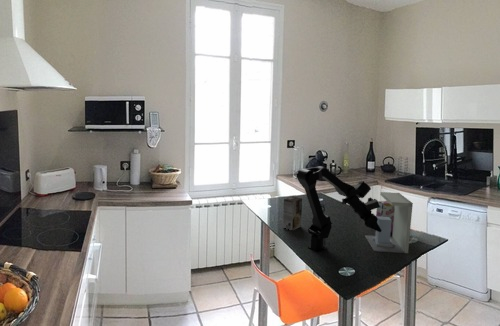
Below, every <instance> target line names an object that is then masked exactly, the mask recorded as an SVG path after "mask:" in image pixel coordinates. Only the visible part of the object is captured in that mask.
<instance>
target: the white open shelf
mask: <svg viewBox="0 0 500 326" xmlns="http://www.w3.org/2000/svg"><path fill="white" fill-rule="evenodd" d="M380 196H381V197H382V198H383V199H384V201H387V202H389V203H390V204H391V205H393V206H395V211H394V222H393V232H392V236H390V244H379V243H376V242H375V236H376V235H366V234H365V235H364V237H365V239H366V240H367V242H368V243H369V245H370V246H371V248H372V251H374V252H378V253H379V252H380V253H381V252H382V253H400V254H409V247H410V236H411V228H412V227H411V226H412V225H411V224H412V217H413V216H412V215H413V214H412V213H413V204H414V203H413V202H412V201H411V200H409V199H408V198H406V197H405V196H404V195H403V194H401V193H400V192H391V191H389V192H388V191H387V192H386V191H381V192H380Z"/></svg>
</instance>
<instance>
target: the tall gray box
mask: <svg viewBox="0 0 500 326" xmlns="http://www.w3.org/2000/svg"><path fill="white" fill-rule="evenodd" d="M377 218H378V220H377V224H378V225H379V227H380V229H381V230H382V231H381V232H378V231H375V235H374V236H375V242H376V243H379V244H390V237H391V233H392V232H391V222H392V220H391V219H390V218H389V217H379V216H377Z"/></svg>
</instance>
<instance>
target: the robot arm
mask: <svg viewBox="0 0 500 326" xmlns="http://www.w3.org/2000/svg"><path fill="white" fill-rule="evenodd" d="M321 178H322V179H323V180H325V181H326V182H327V183H328V184H330V185H331V186H332V187H333V188H334V189H335V191H336V192H337V194H338V195H340V196H342V197H345V198H342V199H341V204H342V205H348V206H349V208H350V209H352V210H353V211H354V213H356V214H357V216H358V217H359V218H360V219H361V220H362V222H363V225H364V226H366V228H369V229H372V230H374V231H375V230H376V231H378V232H381V231H382V230H381V229H380V227H379V225H378V224H377V220H378V218H377V217H376V214H375V213H372V210H377V208H379V207H380V205H379V203H378V201H379V200H378V199H377V198H372V197H368V198H367V201H366V202H364V201H362V200H361V199H364V198H365V197H366V196H367V195H368V193H369V192H370V191H371V190H372V188H371V186H370V185H368V183H366V182H365V181H363V180H360V181H358V183H357V184H356V186H354V185H352V184H349V183H348V182H345V181H342V180H341V179H340V178H339V177H338V176H336V175H335V174H334V173H332V172H331V171H330V170H329V169H328V168H327V167H325V166H322V165H319V166H318V165H317V166H315V167H307V168H300V169H299V170H298V171H297V173H296V179H297V180H298V182H299V185H301V187H302V188H303V189H304V190H305V191H304V192H305V194H306V195H305V196H306V197H307V200H308V204H309V207H310V209H311V213H312V224H311V225H310V226H309V228H308V229H307V231H308V234H309V235H311V236H310V245H309V246H307V248H309V249H310V250H312V251H315V252H318V253H319V252H323V251H325V250H327V249H328V247H326V239H328V238H329V236H330V232H331V230H332V228H333V226H332V225H333V222H332V221H331V217H330V216H329V215H327V214H325V213H324V210H323V207H322V203H321V200H320V197H319V195H318V192H317V188H316V185H317V181H318V180H320V179H321ZM376 231H375V232H376Z"/></svg>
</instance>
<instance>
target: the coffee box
mask: <svg viewBox="0 0 500 326" xmlns="http://www.w3.org/2000/svg"><path fill="white" fill-rule="evenodd" d="M302 206H303V198H301V197H297V196H290V197H287V198H285V199H283V214H282V215H283V218H282V228H283V229H284V228H286V229H285V230H288V229H289V231H291V230H293V231H295V230H297V229H298V228H301V227H302V213H303V207H302Z"/></svg>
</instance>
